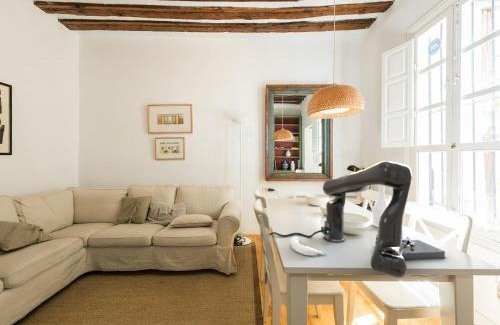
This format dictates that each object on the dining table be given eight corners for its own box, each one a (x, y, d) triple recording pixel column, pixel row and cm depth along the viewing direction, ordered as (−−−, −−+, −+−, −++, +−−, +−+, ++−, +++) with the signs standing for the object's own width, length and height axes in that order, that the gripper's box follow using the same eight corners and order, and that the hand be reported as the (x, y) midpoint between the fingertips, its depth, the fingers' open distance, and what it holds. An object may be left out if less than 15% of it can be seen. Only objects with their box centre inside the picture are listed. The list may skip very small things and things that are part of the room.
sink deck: (396, 260, 99) (396, 253, 99) (375, 247, 113) (375, 241, 113) (444, 257, 102) (444, 251, 102) (418, 245, 116) (418, 239, 116)
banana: (288, 240, 121) (316, 241, 120) (292, 258, 102) (325, 259, 101) (288, 232, 121) (316, 233, 120) (293, 248, 102) (326, 249, 101)
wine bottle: (369, 224, 152) (370, 180, 152) (382, 224, 153) (383, 180, 153) (378, 228, 143) (380, 182, 142) (392, 228, 144) (393, 182, 143)
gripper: (415, 243, 85) (415, 232, 98) (372, 235, 94) (378, 226, 107) (414, 263, 86) (415, 249, 99) (372, 253, 94) (378, 241, 107)
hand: (396, 237), depth 103 cm, fingers open, 8 cm apart
